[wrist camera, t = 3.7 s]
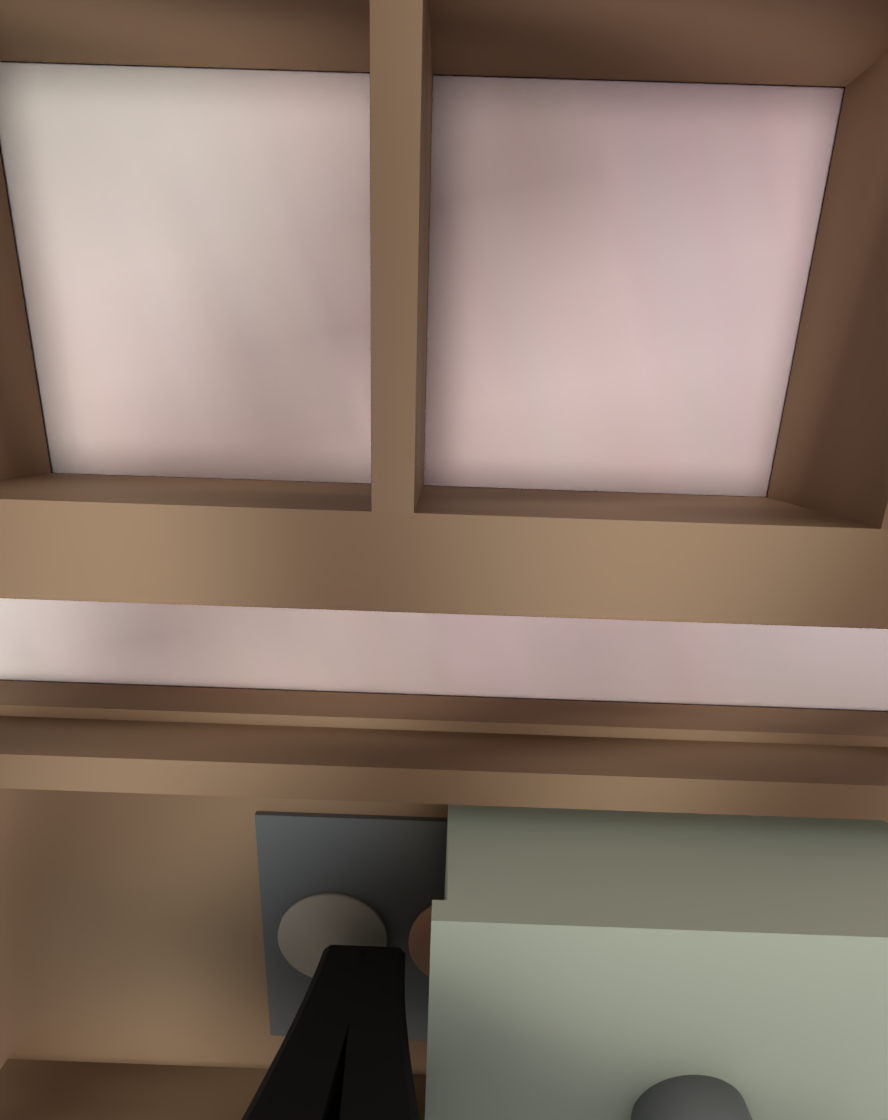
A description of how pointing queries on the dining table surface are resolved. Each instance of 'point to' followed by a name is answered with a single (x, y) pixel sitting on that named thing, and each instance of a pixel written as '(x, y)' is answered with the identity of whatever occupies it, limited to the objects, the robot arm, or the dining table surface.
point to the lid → (658, 967)
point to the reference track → (304, 855)
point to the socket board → (401, 347)
